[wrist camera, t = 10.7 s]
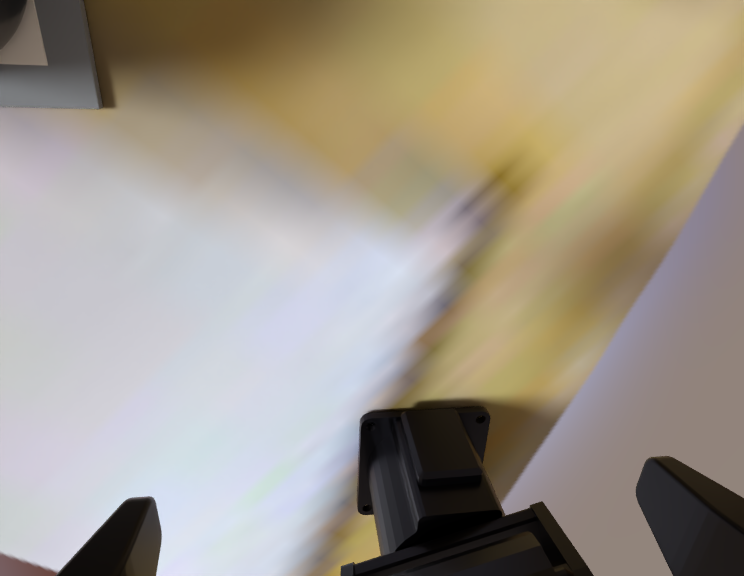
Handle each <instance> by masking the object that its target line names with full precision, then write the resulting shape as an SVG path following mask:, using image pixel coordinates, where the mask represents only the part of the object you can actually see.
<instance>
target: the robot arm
mask: <svg viewBox="0 0 744 576" xmlns="http://www.w3.org/2000/svg"><path fill="white" fill-rule="evenodd" d="M481 415H482V416H481ZM478 416H481V417H480V418H477V417H478ZM371 422H372V423H374V424H372V425H367V424H368V423H371ZM489 424H490V415H489V413H488V411H487V409H486V408H484V407H481V406H477V407H460V408H444V409H427V410H411V411H394V412H377V413H368V414H365V415H363V416H362V418H361V419H360V429H359V457H358V486H357V507H358V512H359V513H360V514H363V515H372V514H374V518H375V524H376V530H377V535H378V541H379V547H380V553H381V556H379V557H376V558H373V559H370V560H367V561H364V562H361V563H358V564H355V563H354V562H353V563H350V564H347V565H344V566H341V576H593V574H592V572H591V571H590V569H589V568H588V566H587V565H586V563H585V562H584V560H583V559H582V558H581V556H580V555H579V553H578V552H577V550H576V549H575V547H574V546H573V545H572V543H571V542H570V540H569V539H568V537H567V536H566V535H565V533H564V532H563V530H562V529H561V527H560V526H559V525H558V523H557V522H556V520H555V519H554V517H553V516H552V515H551V513H550V511H549V510H548V509H547V507H546V506H545V504H544V503H543V502H539V503H535V504H532V505H530V508H528V509H525V510H522V511H519V512H516V513H512V514H509V515H506V516H505V513H504V511H503V509H502V507H501V504H500V502H499V500H498V498H497V495H496V493H495V491H494V489H493V487H492V484H491V482H490V480H489V478H488V475H487V473H486V471H485V469H484V466H483V458H484V452H485V446H486V441H487V435H488V429H489ZM636 497H637V500H638V503H639V505H640V507H641V509H642V511H643V514H644V516H645V518H646V520H647V522H648V524H649V526H650V528H651V530H652V532H653V534H654V537H655V539H656V541H657V543H658V545H659V547H660V549H661V551H662V553H663V556H664V558H665V560H666V562H667V564H668V566H669V568H670V570H671V572H672V574H673V576H744V498H742V497H741V496H739V495H737V494H736V493H734V492H732V491H730V490H729V489H727V488H725V487H723V486H722V485H720V484H718V483H716V482H715V481H713V480H711V479H709V478H708V477H706V476H704V475H703V474H701V473H699V472H697V471H696V470H694V469H692V468H690V467H688V466H687V465H685V464H683V463H682V462H680V461H678V460H676V459H674V458H672V457H669V456H661V457H651V458H649V459H647V460H646V462H645V464H644V467H643V470H642V472H641V475H640V478H639V481H638V483H637V486H636ZM365 505H366V506H365ZM161 537H162V534H161V526H160V521H159V516H158V511H157V506H156V502H155V500H154V498H153V497H150V496H148V497H135V498H129V499H127V500H126V501H124V502H123V503H122V504H121V505H120V506H119V508H118V509H117V510H116V511H115V512H114V513H113V514H112V515H111V516H110V517H109V518H108V519H107V521H106V522H105V523H104V524H103V525H102V526H101V527H100V528H99V529H98V530H97V531H96V532H95V534H94V535H93V536H92V537H91V538H90V539H89V540H88V541H87V542H86V543H85V544H84V545H83V547H82V548H81V549H80V550H79V551H78V552H77V553H76V554H75V555H74V556H73V557H72V558H71V560H70V561H69V562H68V563H67V564H66V565H65V566H64V567H63V568H62V569H61V570H60V571H59V573H58V574H57V575H56V576H156V572H157V566H158V560H159V553H160V547H161Z"/></svg>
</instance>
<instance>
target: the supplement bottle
mask: <svg viewBox="0 0 744 576" xmlns="http://www.w3.org/2000/svg"><path fill="white" fill-rule="evenodd" d="M26 5H27V0H0V50H1V49H2V48H3V47H4V46H5V45H6V44H7V43H8V42H9V40H10V39H11V38H12V37H13V35H14V34H15V32H16V31H17V29H18V27H19V25H20V23H21V21H22V18H23V15H24V12H25V9H26Z"/></svg>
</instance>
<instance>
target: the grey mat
mask: <svg viewBox="0 0 744 576" xmlns="http://www.w3.org/2000/svg"><path fill="white" fill-rule="evenodd" d="M0 107H31V108H74V109H101V108H103V105H102V99H101V94H100V88H99V83H98V77H97V72H96V66H95V60H94V55H93V49H92V44H91V38H90V33H89V27H88V22H87V16H86V11H85V5H84V0H27V5H26V9H25V12H24V15H23V18H22V21H21V23H20V25H19V27H18V29H17V31H16V32H15V34H14V35H13V37H12V38H11V39H10V40H9V42H8V43H7V44H6V45H5V46H4V47H3V48H2V49H1V50H0Z"/></svg>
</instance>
